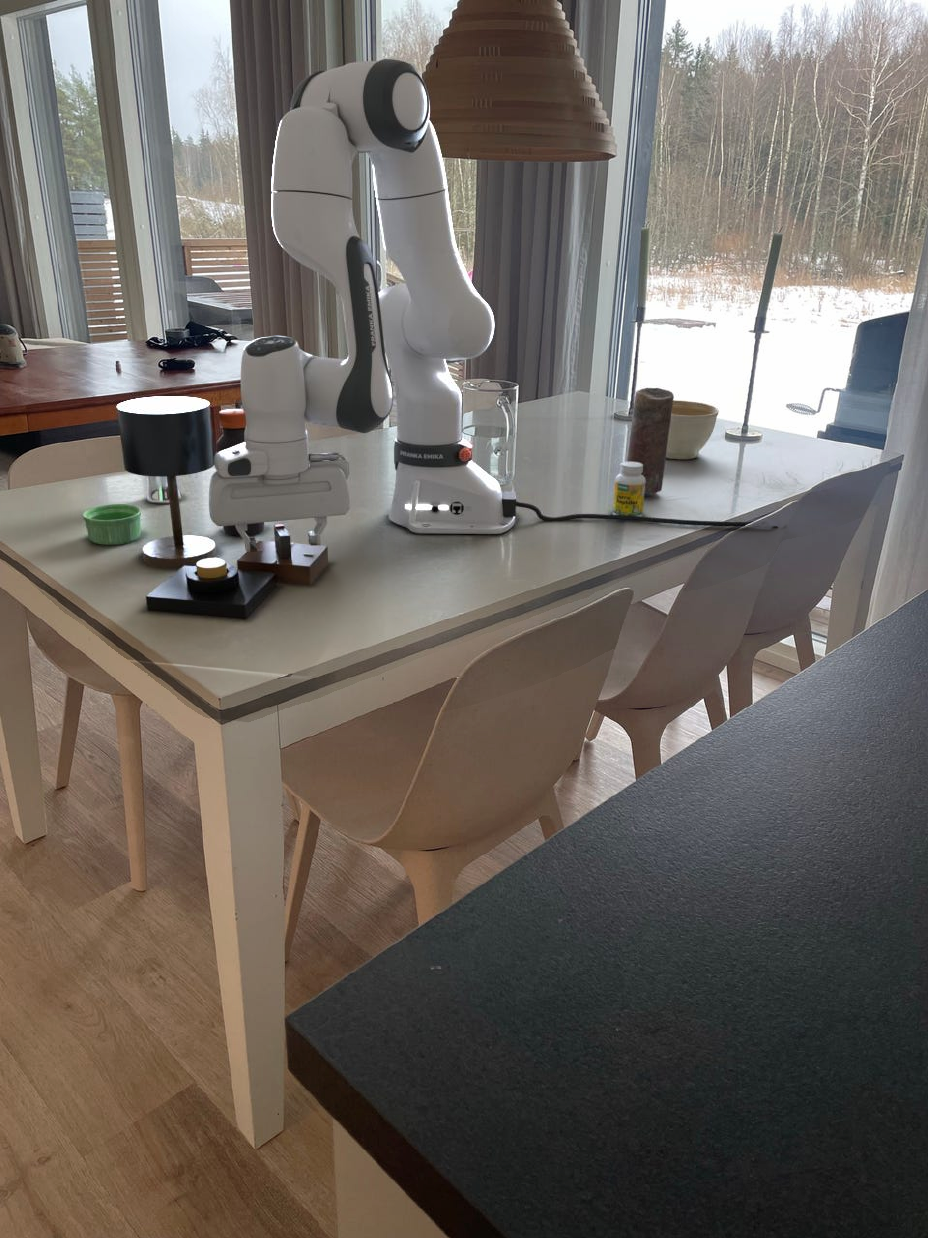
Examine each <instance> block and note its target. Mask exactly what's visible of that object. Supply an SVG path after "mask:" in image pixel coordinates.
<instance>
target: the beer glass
mask: <svg viewBox="0 0 928 1238" xmlns="http://www.w3.org/2000/svg"><path fill="white" fill-rule="evenodd" d="M176 478H177V479H178V476H176ZM146 480H147V493H146V499H147V502H149V503H152V504H158V505H159V504H161V505H162V504H170V502H169V494H168V485H167V477H154V476H146ZM178 481H179V480H177V487H178V497H179V501H181V500H182V493H181V490H180V486H179V482H178Z"/></svg>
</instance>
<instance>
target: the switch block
mask: <svg viewBox="0 0 928 1238" xmlns="http://www.w3.org/2000/svg"><path fill="white" fill-rule="evenodd" d="M226 567H227V574H226V575H225V576H222V577H217V578H200V577H198V576H197V568H196V566H183V567H182V568H178V570H177V571H175V572H174V573H173V574H172V575H170V576H169V577H168V578H167V579H166V580H164V581H163V582H162V583H161V584H159V585H158V586H156V588H154V589H153V590H152V591H150V592H149V593H148V594H146V596H145V601H146V609H147V612H153V613H164V614H165V613H166V614H175V615H178V614H179V615H188V616H189V615H190V616H200V617H211V618H224V619H235V620H244V621H246V620H248V618H249V617H250V616H251V615H252V614H254V612H255V611H256V610H257V609H258V608H259V607H260V606H261V605H262V604H263V603H264V601H265V600H266V599H267V598H269V596H270V595H271V594H272V593H273V592H274V591H275V590H276V589H277V588H278V583H277V578H276V573H271V572H259V571H246V570H238V568H237V566H235V565H231V564H230V563H226Z"/></svg>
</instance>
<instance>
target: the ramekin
mask: <svg viewBox="0 0 928 1238" xmlns="http://www.w3.org/2000/svg"><path fill="white" fill-rule="evenodd" d="M141 516H142V509H141V507H139V506H137V505H134V504H129V503H128V504H127V503H113V504H111V503H110V504H103V505H99V506H94V507H91V508H88V509H87V510H85V511H83V513H82V519H83V521H84V523H85V527H86V532H87V535H88V539H89V540H90V541H91V542H92V543H95V544H98V545H104V546H105V545H106V546H114V545H115V546H116V545H122V544H123V545H124V544H127V543H131V542H134V541H135V540H138V539H139V538H140V537H141V535H142V534H141V533H142V527H141V523H142V522H141Z"/></svg>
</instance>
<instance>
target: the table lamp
mask: <svg viewBox="0 0 928 1238" xmlns="http://www.w3.org/2000/svg"><path fill="white" fill-rule="evenodd" d="M115 408H116V414H117V421H118V423H117V424H118V430H119V431H118V432H119V437H120V438H119V439H120V446H121V453H122V461H123V468H124V471H126V472H127V473H130V474H133V475H137V476H143V477H147V476H154V477H167V485H168V494H169V502H170V503H169V512H170V518H171V519H170V520H171V529H172V536H165V537H161V538H157V539H154V540H151V541H149V542H148V543H146V544H144V545H143V546H142V548H141V553H142V560H143V562H144V563H146V565H148V566H151V567H154V568H159V569H181V568H182V567H183V566H196V563H197V562H198V561H200V560H203V559H207V558H216V556H217V544H216V542H215V541H214V540H213V539H211V538H209V537H206V536H200V535H190V534H186V535H184V534H183V526H182V525H183V524H182V518H181V517H182V515H181V508H180V500H179V497H178V487H177V481H178V477H180V476H187V475H193V474H198V473H202V472H206V471H208V470H210V469H211V468H214V467H215V465H214V456H215V449H214V439H213V427H212V417H211V416H212V415H211V403H210V402H209V401H208V400H206V399H203V398H199V397H191V396H169V395H168V396H150V397H140V398H135V399H130V400H126V401H125V400H124V401H123V402H120V403H118V404H117V405H116V407H115ZM176 476H177V478H176Z"/></svg>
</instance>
